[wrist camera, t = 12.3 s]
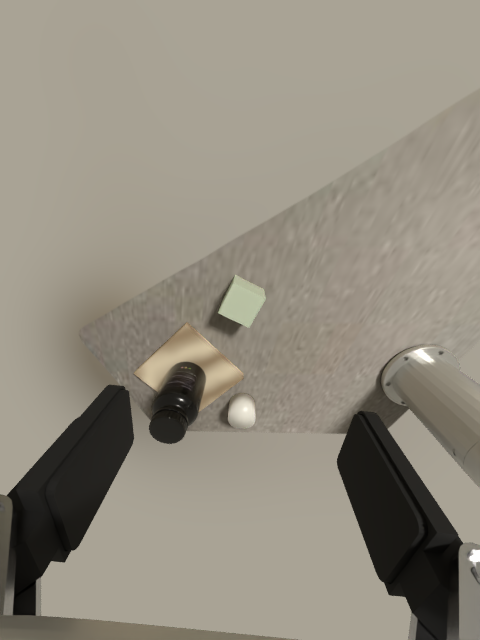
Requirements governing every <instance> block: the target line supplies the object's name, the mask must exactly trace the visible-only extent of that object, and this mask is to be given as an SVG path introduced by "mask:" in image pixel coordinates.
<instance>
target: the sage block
mask: <svg viewBox="0 0 480 640" xmlns="http://www.w3.org/2000/svg"><path fill="white" fill-rule="evenodd" d="M265 299H266V297H265V293H264V289H262V288H260V287H258V286H256V285H254V284H252V283H250V282H248V281H246V280H244V279H242V278H240V277H238V276H236V275H235V276H234V278H233V280H232V282H231V284H230V286H229V288H228V290H227V293H226V295H225V297H224V299H223V301H222V303H221V306H220V309H219V311H218V313H219V314H221V315H223V316H225V317H227V318H229V319H231V320H233V321H235V322H238V323H240V324H242V325H244V326H246V327H248V328H249V327H250V325H251V324H252V322H253V320H254V318H255V317H256V315H257V313H258V311H259V310H260V308H261V306H262V305H263V303H264V301H265Z"/></svg>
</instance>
